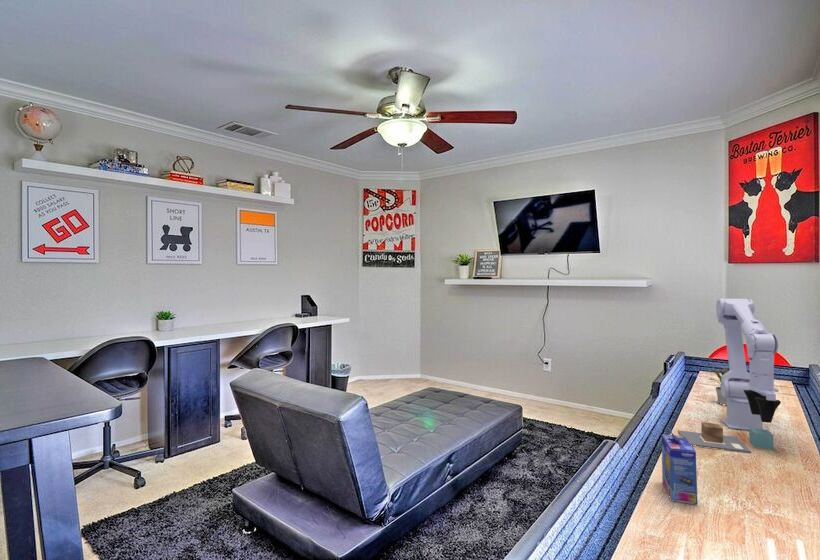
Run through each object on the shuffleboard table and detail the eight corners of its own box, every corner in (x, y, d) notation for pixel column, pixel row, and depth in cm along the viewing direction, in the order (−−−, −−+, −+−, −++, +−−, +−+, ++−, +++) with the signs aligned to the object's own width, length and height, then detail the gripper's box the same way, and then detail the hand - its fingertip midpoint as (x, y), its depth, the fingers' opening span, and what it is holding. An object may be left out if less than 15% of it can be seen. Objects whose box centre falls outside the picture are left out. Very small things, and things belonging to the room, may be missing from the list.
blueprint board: (736, 438, 136) (736, 436, 136) (751, 453, 125) (751, 451, 125) (677, 432, 141) (677, 430, 141) (686, 445, 130) (686, 443, 130)
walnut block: (718, 438, 134) (718, 423, 134) (722, 443, 130) (723, 428, 130) (701, 436, 136) (701, 422, 136) (705, 441, 132) (705, 426, 132)
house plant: (706, 407, 168) (706, 365, 168) (698, 398, 181) (698, 359, 181) (751, 411, 163) (751, 368, 163) (739, 401, 176) (739, 362, 176)
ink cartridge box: (660, 481, 107) (660, 423, 107) (685, 485, 105) (686, 426, 105) (669, 501, 98) (670, 438, 98) (698, 505, 96) (698, 441, 96)
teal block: (767, 444, 132) (767, 429, 131) (773, 449, 127) (773, 434, 127) (749, 442, 133) (749, 427, 133) (754, 447, 129) (754, 432, 129)
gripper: (789, 379, 122) (788, 427, 122) (767, 369, 135) (767, 412, 136) (758, 377, 124) (758, 424, 124) (740, 367, 138) (740, 410, 138)
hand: (761, 418), depth 130 cm, fingers open, 7 cm apart
